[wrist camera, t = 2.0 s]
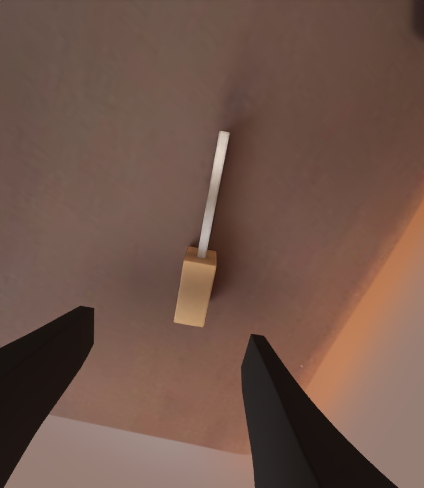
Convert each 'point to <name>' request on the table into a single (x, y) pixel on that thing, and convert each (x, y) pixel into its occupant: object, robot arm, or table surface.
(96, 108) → the table surface
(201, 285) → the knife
